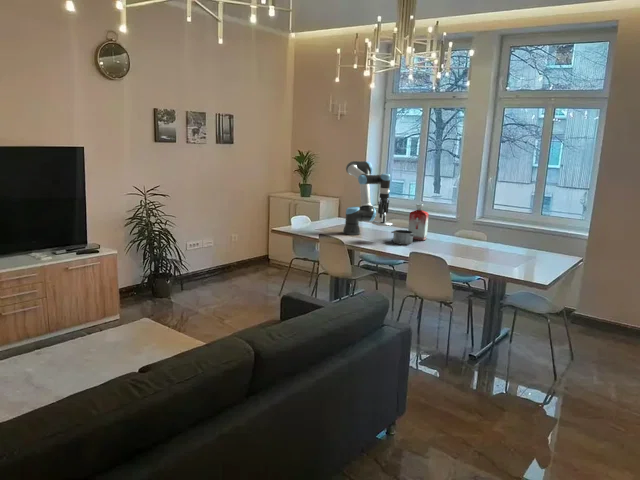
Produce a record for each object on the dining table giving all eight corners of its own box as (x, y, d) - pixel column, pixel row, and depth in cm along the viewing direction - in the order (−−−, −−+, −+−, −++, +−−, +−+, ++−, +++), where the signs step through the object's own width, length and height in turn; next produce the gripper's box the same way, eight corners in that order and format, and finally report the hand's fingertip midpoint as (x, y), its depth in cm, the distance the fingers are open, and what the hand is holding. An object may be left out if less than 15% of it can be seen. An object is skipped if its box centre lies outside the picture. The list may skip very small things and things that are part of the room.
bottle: (407, 239, 435) (409, 204, 429) (410, 237, 444) (413, 202, 438) (423, 241, 429) (426, 205, 423) (427, 239, 438) (430, 204, 432)
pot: (387, 241, 421) (387, 231, 419) (397, 239, 433) (397, 228, 431) (408, 245, 408) (409, 234, 406) (418, 243, 420) (419, 232, 418)
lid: (368, 223, 420) (369, 212, 417) (379, 221, 432) (380, 210, 430) (385, 226, 409) (386, 215, 407) (396, 224, 422) (397, 213, 419)
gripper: (382, 194, 406) (380, 223, 411) (393, 192, 419) (391, 220, 424) (374, 193, 411) (372, 221, 416) (386, 191, 424) (384, 219, 429)
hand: (382, 221), depth 420 cm, fingers closed on lid, 4 cm apart
